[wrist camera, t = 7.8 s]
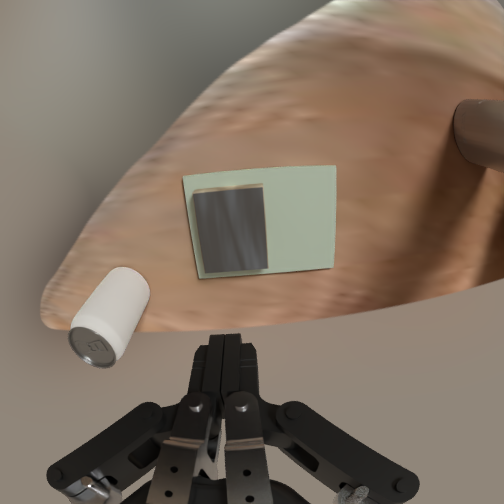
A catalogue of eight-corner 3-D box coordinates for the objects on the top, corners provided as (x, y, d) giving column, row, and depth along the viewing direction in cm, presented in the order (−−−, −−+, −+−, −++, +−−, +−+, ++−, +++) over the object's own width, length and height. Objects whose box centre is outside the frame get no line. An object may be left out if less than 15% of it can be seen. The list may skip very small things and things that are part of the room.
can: (99, 271, 32) (54, 327, 21) (138, 259, 31) (97, 320, 21) (120, 310, 35) (86, 372, 24) (158, 302, 34) (131, 370, 23)
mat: (334, 165, 27) (336, 165, 27) (332, 265, 32) (333, 267, 32) (183, 175, 28) (182, 176, 27) (199, 276, 33) (199, 278, 32)
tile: (263, 186, 26) (191, 193, 26) (268, 269, 30) (204, 274, 30) (262, 183, 28) (194, 189, 28) (267, 261, 31) (206, 266, 31)
